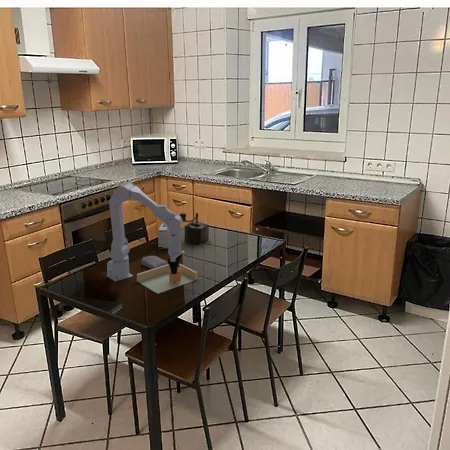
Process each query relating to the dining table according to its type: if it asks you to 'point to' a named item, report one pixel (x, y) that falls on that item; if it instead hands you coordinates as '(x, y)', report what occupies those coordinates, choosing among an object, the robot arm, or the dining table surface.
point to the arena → (164, 278)
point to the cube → (175, 275)
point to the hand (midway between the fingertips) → (175, 270)
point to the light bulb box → (163, 236)
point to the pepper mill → (195, 231)
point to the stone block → (153, 262)
